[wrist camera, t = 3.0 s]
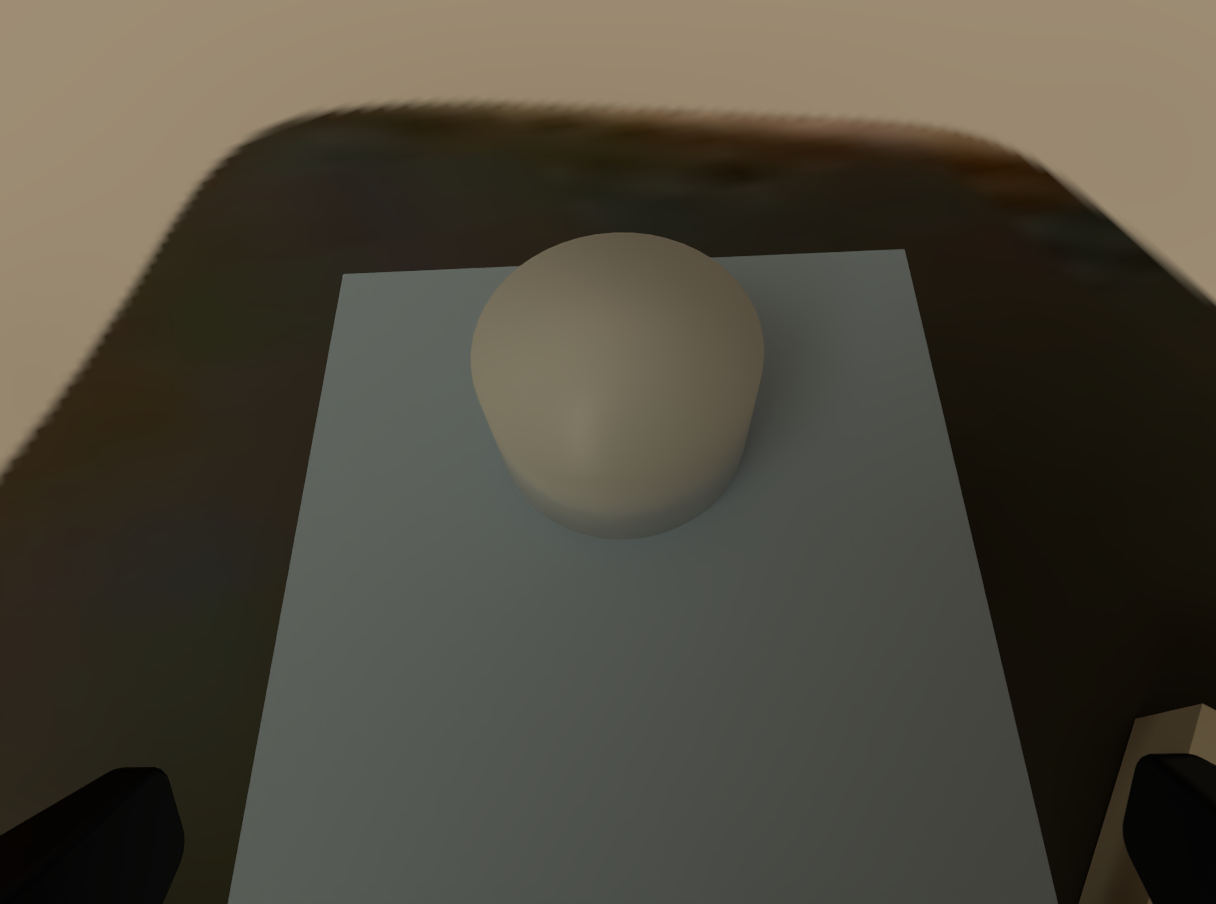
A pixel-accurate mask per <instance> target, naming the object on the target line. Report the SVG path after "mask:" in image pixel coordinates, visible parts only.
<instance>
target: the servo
mask: <svg viewBox="0 0 1216 904" xmlns="http://www.w3.org/2000/svg"><path fill="white" fill-rule="evenodd" d="M228 904H1058V902H1057V898H1056V893H1055V889H1054V885H1053V881H1052V876H1051V872H1050V868H1049V864H1048V859H1047V855H1046V851H1045V847H1044V842H1043V838H1042V834H1041V829H1040V825H1039V821H1038V817H1037V812H1036V808H1035V804H1034V800H1033V795H1032V791H1031V787H1030V783H1029V778H1028V774H1027V770H1026V765H1025V761H1024V757H1023V753H1022V748H1021V744H1020V740H1019V736H1018V731H1017V727H1016V723H1015V719H1014V714H1013V710H1012V706H1011V701H1010V697H1009V693H1008V689H1007V684H1006V680H1005V676H1004V672H1003V667H1002V663H1001V659H1000V655H999V650H998V646H997V642H996V637H995V633H994V629H993V625H992V620H991V616H990V612H989V608H988V603H987V599H986V595H985V591H984V586H983V582H982V578H981V573H980V569H979V565H978V561H977V556H976V552H975V548H974V544H973V539H972V535H971V531H970V527H969V522H968V518H967V514H966V509H965V505H964V501H963V497H962V492H961V488H960V484H959V480H958V475H957V471H956V467H955V463H954V458H953V454H952V450H951V446H950V441H949V437H948V433H947V428H946V424H945V420H944V416H943V411H942V407H941V403H940V399H939V394H938V390H937V386H936V382H935V377H934V373H933V369H932V364H931V360H930V356H929V352H928V347H927V343H926V339H925V335H924V330H923V326H922V322H921V318H920V313H919V309H918V305H917V300H916V296H915V292H914V288H913V283H912V279H911V275H910V271H909V266H908V262H907V258H906V254H905V249H898V250H876V251H853V252H831V253H808V254H786V255H763V256H741V257H719V258H710V257H708V256H706V255H705V254H703V253H701V252H700V251H698V250H696V249H694V248H691V247H689V246H687V245H685V244H683V243H680V242H676V241H673V240H670V239H667V238H663V237H658V236H654V235H649V234H639V233H605V234H596V235H591V236H586V237H581V238H577V239H574V240H570V241H567V242H564V243H561V244H559V245H556V246H554V247H552V248H549V249H547V250H545V251H543V252H542V253H540V254H538V255H536V256H534V257H533V258H531V259H530V260H528V261H527V262H525V263H524V264H523V265H521V266H517V267H495V268H472V269H450V270H427V271H405V272H382V273H360V274H343V278H342V284H341V289H340V295H339V300H338V306H337V311H336V316H335V322H334V327H333V333H332V338H331V344H330V349H329V355H328V360H327V365H326V371H325V376H324V382H323V387H322V393H321V398H320V404H319V409H318V415H317V420H316V425H315V431H314V436H313V442H312V447H311V453H310V458H309V464H308V469H307V475H306V480H305V485H304V491H303V496H302V502H301V507H300V513H299V518H298V524H297V529H296V534H295V540H294V545H293V551H292V556H291V562H290V567H289V573H288V578H287V584H286V589H285V594H284V600H283V605H282V611H281V616H280V622H279V627H278V633H277V638H276V644H275V649H274V654H273V660H272V665H271V671H270V676H269V682H268V687H267V693H266V698H265V703H264V709H263V714H262V720H261V725H260V731H259V736H258V742H257V747H256V753H255V758H254V763H253V769H252V774H251V780H250V785H249V791H248V796H247V802H246V807H245V813H244V818H243V823H242V829H241V834H240V840H239V845H238V851H237V856H236V862H235V867H234V873H233V878H232V883H231V889H230V894H229V900H228Z"/></svg>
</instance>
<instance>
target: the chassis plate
mask: <svg viewBox="0 0 1216 904" xmlns="http://www.w3.org/2000/svg"><path fill="white" fill-rule="evenodd" d="M1157 753H1188V754H1193V755H1197V756H1199V757H1201V758H1203V759H1205V760H1207V761H1209V762H1211V763H1213V764H1215V765H1216V710H1214V709H1212V708H1210V707H1208V706H1206V705H1204V704H1198V705H1194V706H1189V707H1185V708H1181V709H1176V710H1172V711H1168V712H1163V713H1159V714H1155V715H1150V716H1146V717H1141V718H1137V719H1135V721H1134V725H1133V728H1132V731H1131V734H1130V738H1129V741H1128V744H1127V748H1126V751H1125V754H1124V757H1123V761H1122V764H1121V767H1120V770H1119V774H1118V777H1117V780H1116V783H1115V787H1114V790H1113V793H1112V796H1111V800H1110V803H1109V806H1108V809H1107V813H1106V816H1105V819H1104V822H1103V826H1102V829H1101V832H1100V836H1099V839H1098V842H1097V845H1096V849H1095V852H1094V855H1093V858H1092V862H1091V865H1090V868H1089V871H1088V875H1087V878H1086V881H1085V884H1084V888H1083V891H1082V894H1081V897H1080V901H1079V904H1152V902H1151V900H1150V898H1149V896H1148V894H1147V892H1146V889H1145V887H1144V885H1143V883H1142V881H1141V879H1140V877H1139V875H1138V873H1137V871H1136V869H1135V867H1134V865H1133V863H1132V861H1131V859H1130V857H1129V855H1128V852H1127V850H1126V846H1125V843H1124V838H1123V819H1124V815H1125V810H1126V806H1127V802H1128V797H1129V793H1130V788H1131V784H1132V779H1133V775H1134V770H1135V767H1136V764H1137V762H1138V761H1139V760H1140V758H1141V757H1143V756H1144V755H1147V754H1157Z"/></svg>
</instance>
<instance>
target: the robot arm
mask: <svg viewBox="0 0 1216 904" xmlns="http://www.w3.org/2000/svg"><path fill="white" fill-rule="evenodd" d="M1123 838H1124V843H1125V846H1126V850H1127V852H1128V855H1129V857H1130V859H1131V861H1132V863H1133V865H1134V867H1135V869H1136V871H1137V873H1138V875H1139V877H1140V879H1141V881H1142V883H1143V885H1144V887H1145V889H1146V892H1147V894H1148V896H1149V898H1150V900H1151V902H1152V904H1216V765H1215V764H1213V763H1211V762H1209V761H1207V760H1205V759H1203V758H1201V757H1199V756H1197V755H1193V754H1188V753H1157V754H1147V755H1144V756H1143V757H1141V758H1140V760H1139V761H1138V762H1137V764H1136V767H1135V770H1134V775H1133V779H1132V784H1131V788H1130V793H1129V797H1128V802H1127V806H1126V810H1125V815H1124V819H1123ZM183 850H184V831H183V827H182V823H181V820H180V817H179V813H178V810H177V806H176V803H175V800H174V796H173V793H172V789H171V786H170V782H169V779H168V777H167V775H166V774H165V773H164V772H163V771H162V770H161V769H159V768H156V767H124V768H117V769H114V770H112V771H110V772H108V773H106V774H104V775H102V776H101V777H99V778H97V779H96V780H94V781H92V782H91V783H89V784H87V785H85V786H84V787H82V788H80V789H79V790H77V791H75V792H74V793H72V794H70V795H68V796H67V797H65V798H63V799H62V800H60V801H58V802H56V803H55V804H53V805H51V806H50V807H48V808H46V809H45V810H43V811H41V812H39V813H38V814H36V815H34V816H33V817H31V818H29V819H28V820H26V821H24V822H22V823H21V824H19V825H17V826H16V827H14V828H12V829H10V830H9V831H7V832H5V833H4V834H2V835H0V904H163V901H164V899H165V897H166V894H167V892H168V890H169V887H170V885H171V883H172V880H173V878H174V876H175V873H176V871H177V869H178V867H179V864H180V861H181V858H182V854H183Z"/></svg>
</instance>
